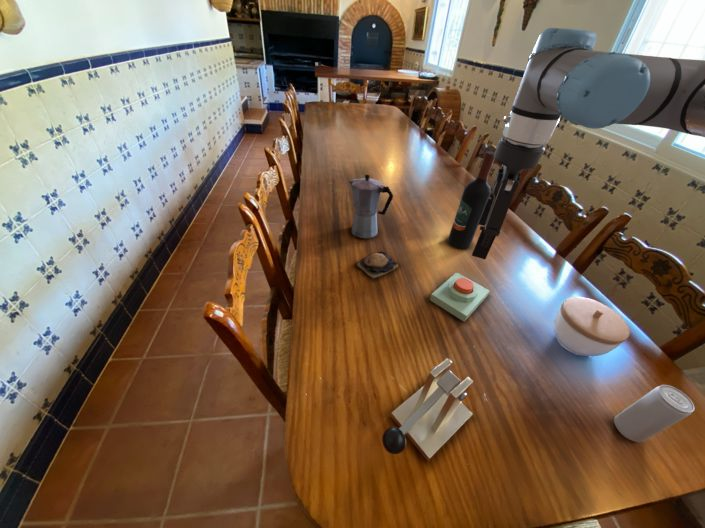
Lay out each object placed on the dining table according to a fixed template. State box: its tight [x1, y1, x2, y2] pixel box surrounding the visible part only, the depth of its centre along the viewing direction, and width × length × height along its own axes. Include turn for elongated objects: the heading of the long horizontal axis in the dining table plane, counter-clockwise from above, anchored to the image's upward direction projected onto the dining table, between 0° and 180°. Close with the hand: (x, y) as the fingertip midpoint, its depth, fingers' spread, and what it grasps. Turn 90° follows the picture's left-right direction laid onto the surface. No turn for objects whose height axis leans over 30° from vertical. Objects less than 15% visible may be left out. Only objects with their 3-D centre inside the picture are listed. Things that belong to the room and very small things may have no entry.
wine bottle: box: [447, 150, 495, 250], centre depth 90 cm, size 8×8×30 cm
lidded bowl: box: [552, 296, 631, 357], centre depth 66 cm, size 13×13×11 cm
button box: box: [429, 272, 491, 323], centre depth 78 cm, size 13×10×4 cm
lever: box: [381, 369, 461, 455], centre depth 46 cm, size 15×4×4 cm, turn 126°
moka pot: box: [348, 174, 394, 239], centre depth 94 cm, size 10×15×20 cm, turn 64°
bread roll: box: [356, 250, 399, 280], centre depth 86 cm, size 11×8×4 cm
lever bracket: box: [390, 357, 474, 462], centre depth 50 cm, size 12×9×14 cm
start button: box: [454, 277, 474, 294], centre depth 76 cm, size 4×4×2 cm
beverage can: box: [613, 384, 696, 443], centre depth 51 cm, size 5×5×12 cm
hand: (481, 239), depth 65 cm, fingers open, 13 cm apart
